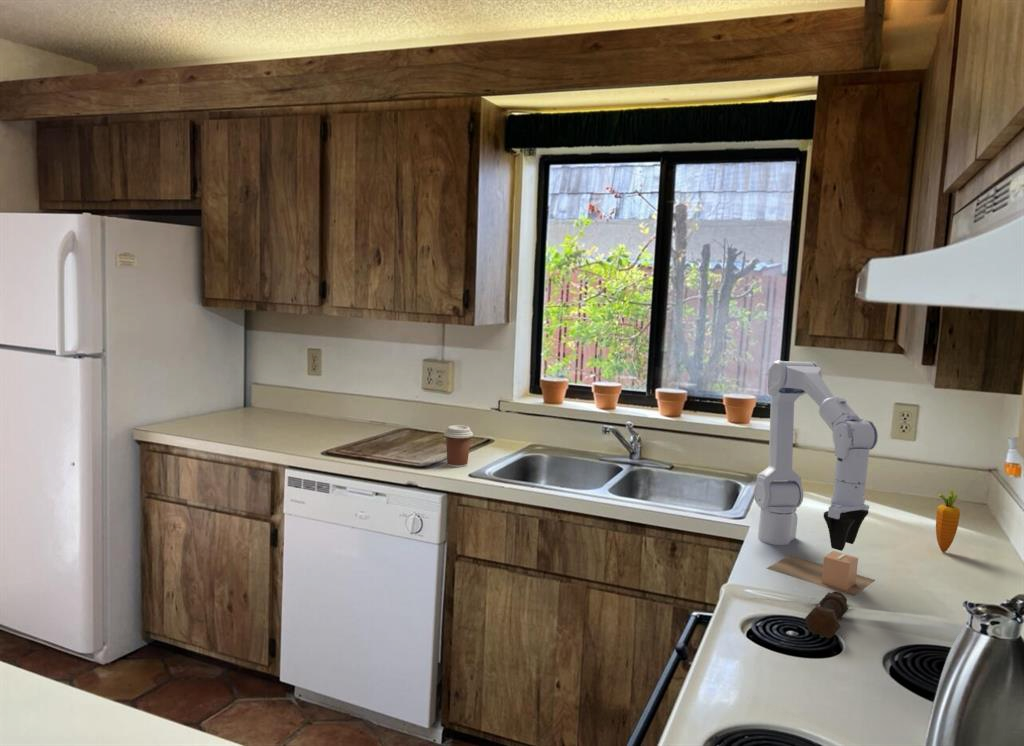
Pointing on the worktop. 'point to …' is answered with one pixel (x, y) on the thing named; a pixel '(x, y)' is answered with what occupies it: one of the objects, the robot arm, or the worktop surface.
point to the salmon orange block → (839, 570)
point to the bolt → (827, 615)
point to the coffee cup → (458, 445)
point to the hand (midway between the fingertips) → (842, 545)
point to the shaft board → (814, 573)
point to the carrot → (947, 521)
